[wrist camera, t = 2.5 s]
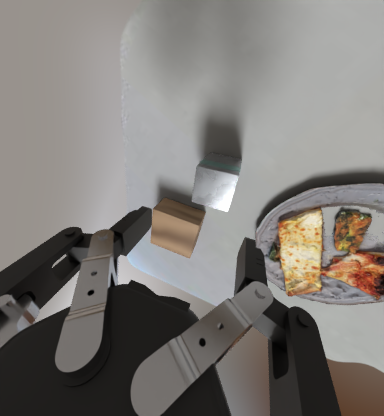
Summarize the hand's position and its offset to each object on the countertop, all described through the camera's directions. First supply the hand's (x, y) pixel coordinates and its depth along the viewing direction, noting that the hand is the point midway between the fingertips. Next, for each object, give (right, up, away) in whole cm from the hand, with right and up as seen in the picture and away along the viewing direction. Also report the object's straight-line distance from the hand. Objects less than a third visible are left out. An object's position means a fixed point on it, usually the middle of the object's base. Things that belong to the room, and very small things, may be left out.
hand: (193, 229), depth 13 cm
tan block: (-2, -1, +21) cm, 22 cm away
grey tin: (+5, +8, +13) cm, 16 cm away
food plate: (+24, -5, +14) cm, 28 cm away
